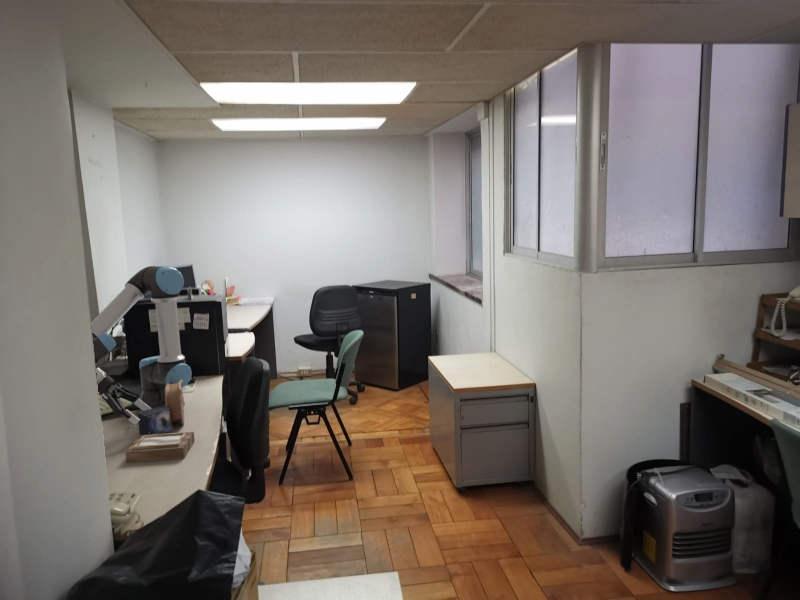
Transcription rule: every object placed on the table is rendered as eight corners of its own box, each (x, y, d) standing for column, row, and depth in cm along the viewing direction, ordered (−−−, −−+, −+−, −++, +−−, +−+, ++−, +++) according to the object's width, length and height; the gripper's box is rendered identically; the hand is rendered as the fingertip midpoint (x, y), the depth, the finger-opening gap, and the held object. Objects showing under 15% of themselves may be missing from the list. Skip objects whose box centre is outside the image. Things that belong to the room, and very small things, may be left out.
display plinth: (141, 445, 230) (139, 433, 229) (194, 441, 232) (193, 429, 231) (126, 462, 214) (124, 450, 213) (184, 458, 216) (182, 445, 215)
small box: (148, 441, 234) (145, 415, 232) (139, 438, 238) (136, 412, 236) (172, 432, 242) (170, 407, 241) (163, 429, 246) (160, 405, 244)
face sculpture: (186, 428, 246) (182, 389, 244) (167, 431, 244) (163, 391, 242) (186, 413, 265) (182, 377, 263) (169, 416, 263) (165, 379, 260)
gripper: (106, 380, 247) (147, 413, 251) (79, 398, 223) (125, 434, 226) (118, 366, 247) (159, 400, 250) (93, 384, 222) (139, 420, 226)
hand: (143, 416), depth 238 cm, fingers open, 13 cm apart
